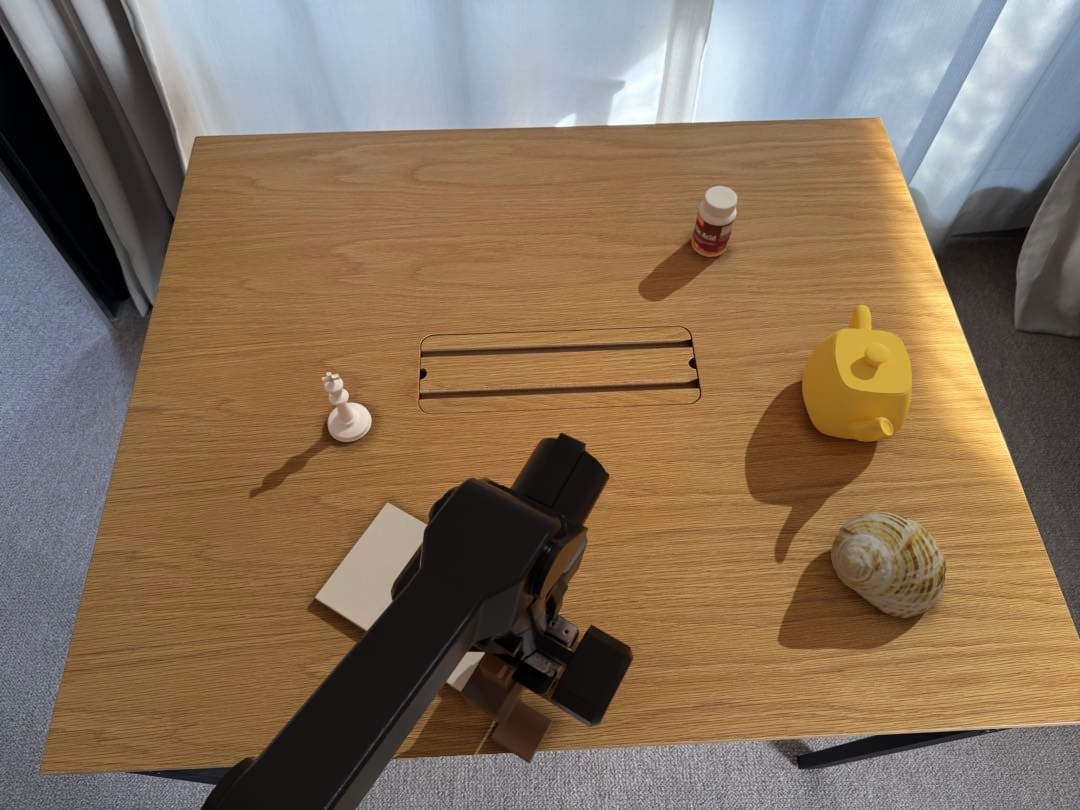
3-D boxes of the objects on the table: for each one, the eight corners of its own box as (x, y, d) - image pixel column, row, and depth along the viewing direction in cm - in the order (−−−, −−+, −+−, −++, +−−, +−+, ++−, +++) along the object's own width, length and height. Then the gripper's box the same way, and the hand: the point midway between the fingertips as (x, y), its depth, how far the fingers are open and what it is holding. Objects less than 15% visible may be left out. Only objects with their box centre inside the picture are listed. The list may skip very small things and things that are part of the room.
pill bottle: (683, 244, 102) (693, 196, 95) (707, 226, 104) (719, 178, 96) (710, 263, 100) (723, 216, 93) (734, 245, 102) (748, 197, 95)
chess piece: (325, 411, 88) (301, 361, 80) (367, 400, 89) (348, 349, 81) (331, 447, 86) (308, 399, 77) (375, 435, 87) (356, 386, 78)
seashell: (965, 599, 75) (968, 586, 67) (869, 634, 78) (860, 627, 70) (911, 506, 80) (908, 483, 72) (823, 542, 83) (810, 525, 74)
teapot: (905, 486, 83) (949, 437, 74) (801, 477, 83) (831, 427, 74) (884, 352, 92) (920, 293, 83) (791, 344, 93) (817, 285, 84)
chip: (529, 764, 69) (529, 761, 67) (492, 739, 70) (491, 736, 68) (552, 722, 70) (552, 719, 69) (515, 699, 71) (514, 696, 70)
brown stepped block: (505, 727, 66) (501, 711, 60) (463, 700, 67) (455, 682, 61) (563, 627, 70) (565, 603, 64) (522, 603, 72) (520, 577, 66)
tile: (467, 696, 72) (466, 694, 71) (316, 600, 77) (314, 597, 76) (533, 589, 77) (533, 585, 76) (388, 505, 82) (387, 501, 81)
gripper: (678, 565, 54) (652, 628, 67) (457, 447, 59) (474, 527, 72) (603, 709, 49) (591, 747, 62) (369, 566, 54) (404, 629, 67)
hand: (513, 653), depth 66 cm, fingers closed on brown stepped block, 2 cm apart
